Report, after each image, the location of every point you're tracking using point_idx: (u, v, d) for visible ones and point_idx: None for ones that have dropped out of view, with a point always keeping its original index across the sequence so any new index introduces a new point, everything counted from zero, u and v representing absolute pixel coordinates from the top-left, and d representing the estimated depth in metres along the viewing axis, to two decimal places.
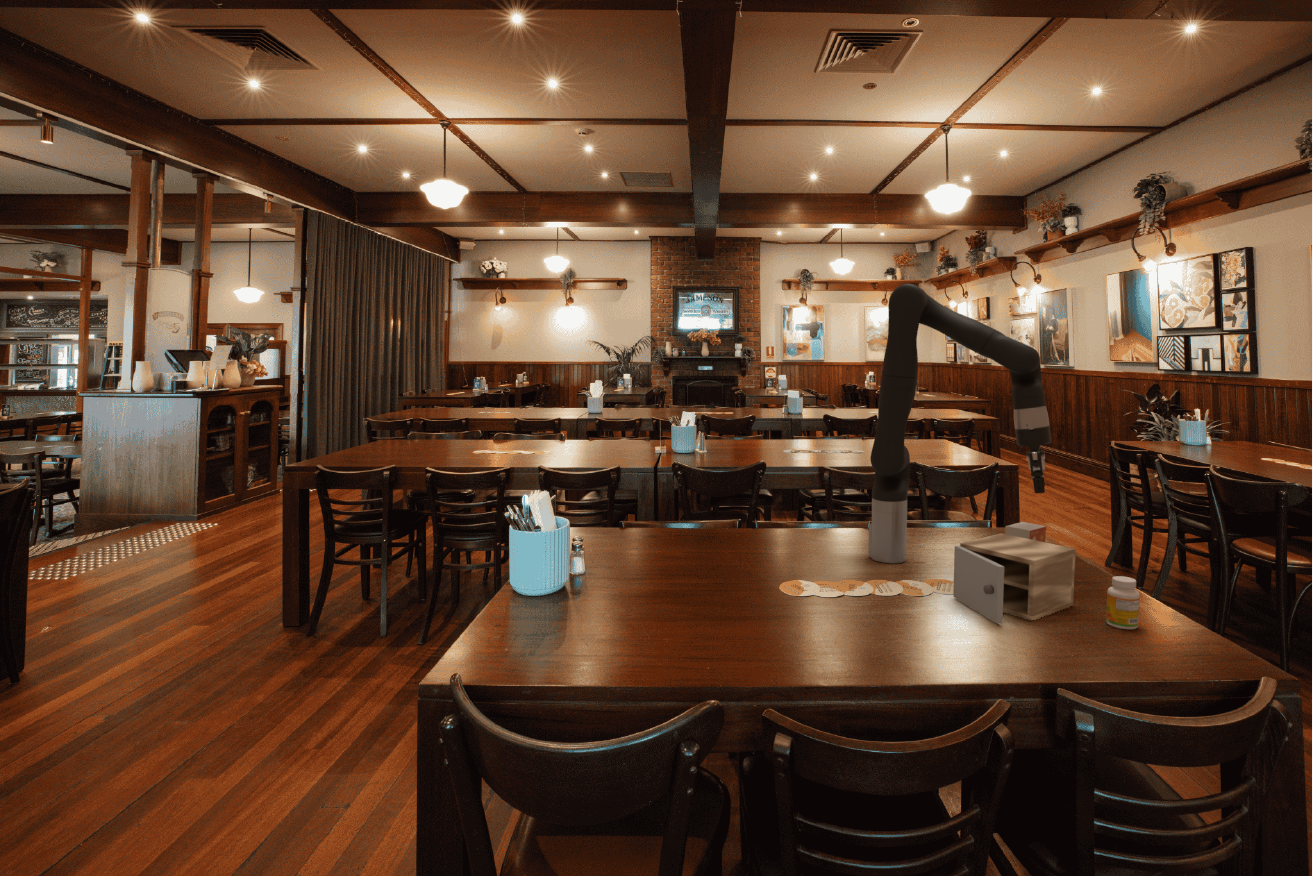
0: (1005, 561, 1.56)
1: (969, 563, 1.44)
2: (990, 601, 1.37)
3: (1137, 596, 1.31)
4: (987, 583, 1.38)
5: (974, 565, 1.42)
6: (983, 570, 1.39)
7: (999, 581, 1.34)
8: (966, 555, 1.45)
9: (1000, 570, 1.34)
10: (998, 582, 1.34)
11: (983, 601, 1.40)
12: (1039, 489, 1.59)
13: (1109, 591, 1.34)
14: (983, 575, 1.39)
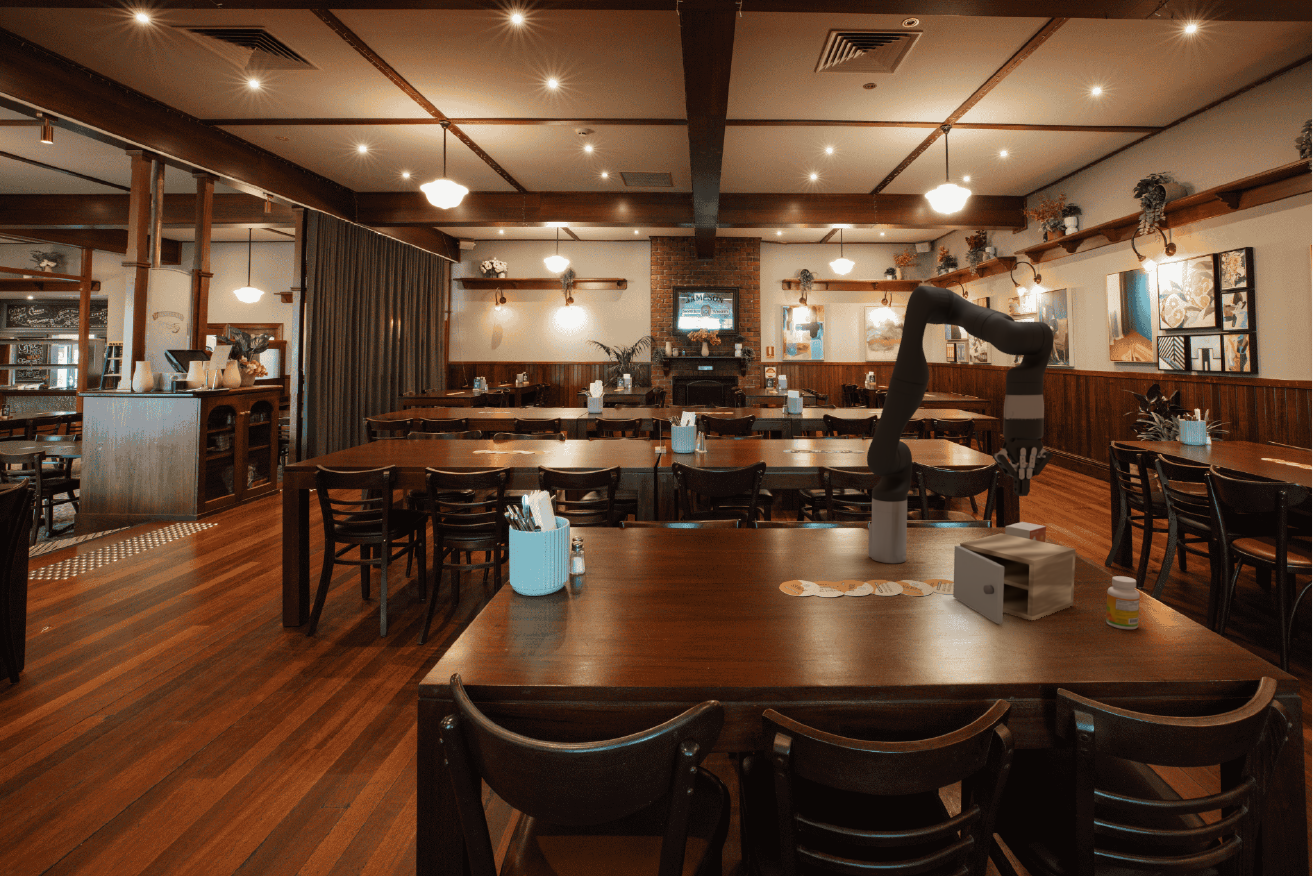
0: (1005, 561, 1.56)
1: (969, 563, 1.44)
2: (990, 601, 1.37)
3: (1137, 596, 1.31)
4: (987, 583, 1.38)
5: (974, 565, 1.42)
6: (983, 570, 1.39)
7: (999, 581, 1.34)
8: (966, 555, 1.45)
9: (1000, 570, 1.34)
10: (998, 582, 1.34)
11: (983, 601, 1.40)
12: (1016, 491, 1.42)
13: (1109, 591, 1.34)
14: (983, 575, 1.39)
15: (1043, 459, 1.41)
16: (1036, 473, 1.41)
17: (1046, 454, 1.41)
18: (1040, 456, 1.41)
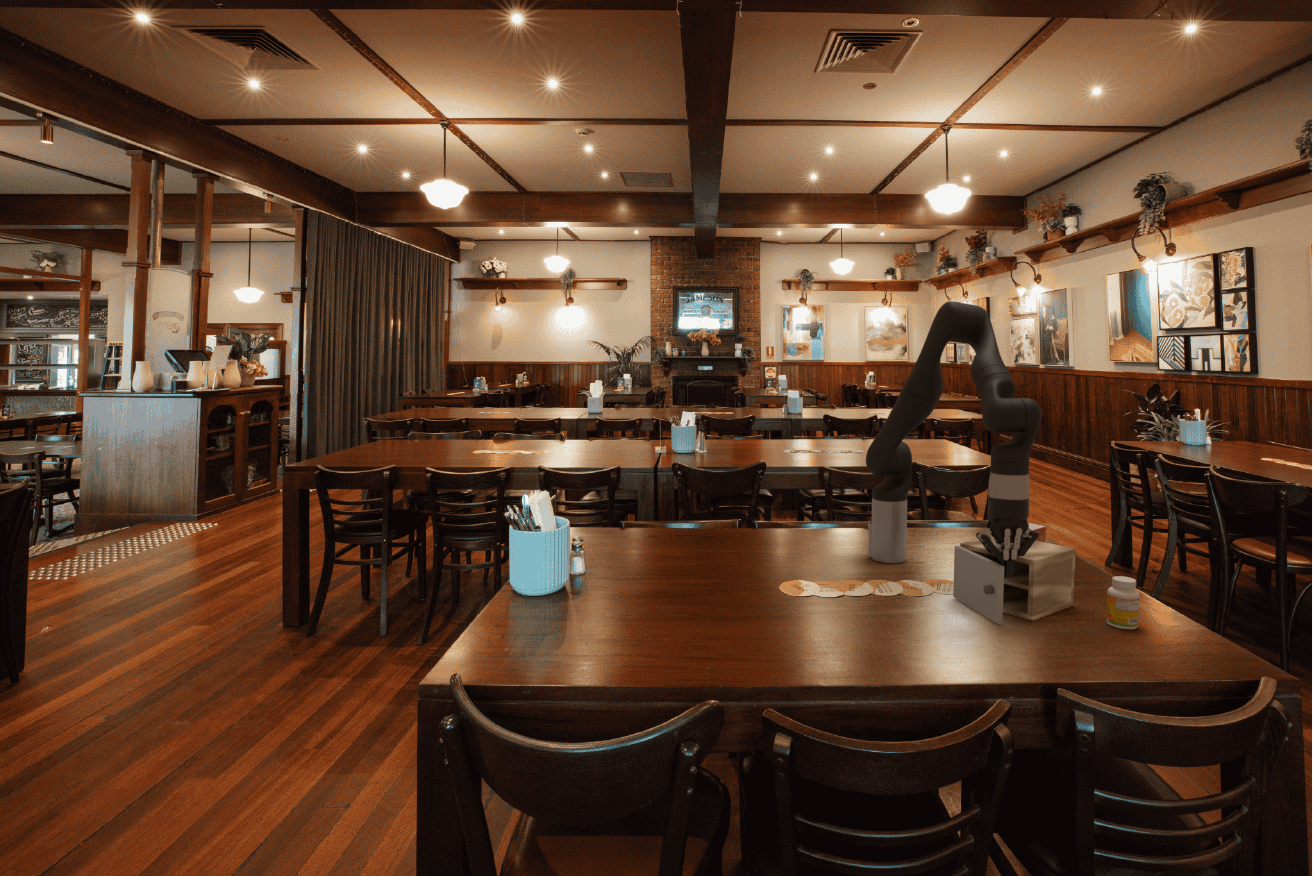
0: None
1: (969, 563, 1.44)
2: (990, 601, 1.37)
3: (1137, 596, 1.31)
4: (987, 583, 1.38)
5: (974, 565, 1.42)
6: (983, 570, 1.39)
7: (999, 581, 1.34)
8: (966, 555, 1.45)
9: (1000, 570, 1.34)
10: (998, 582, 1.34)
11: (983, 601, 1.40)
12: None
13: (1109, 591, 1.34)
14: (983, 575, 1.39)
15: (1029, 539, 1.36)
16: (1021, 554, 1.36)
17: (1032, 534, 1.36)
18: (1026, 536, 1.36)
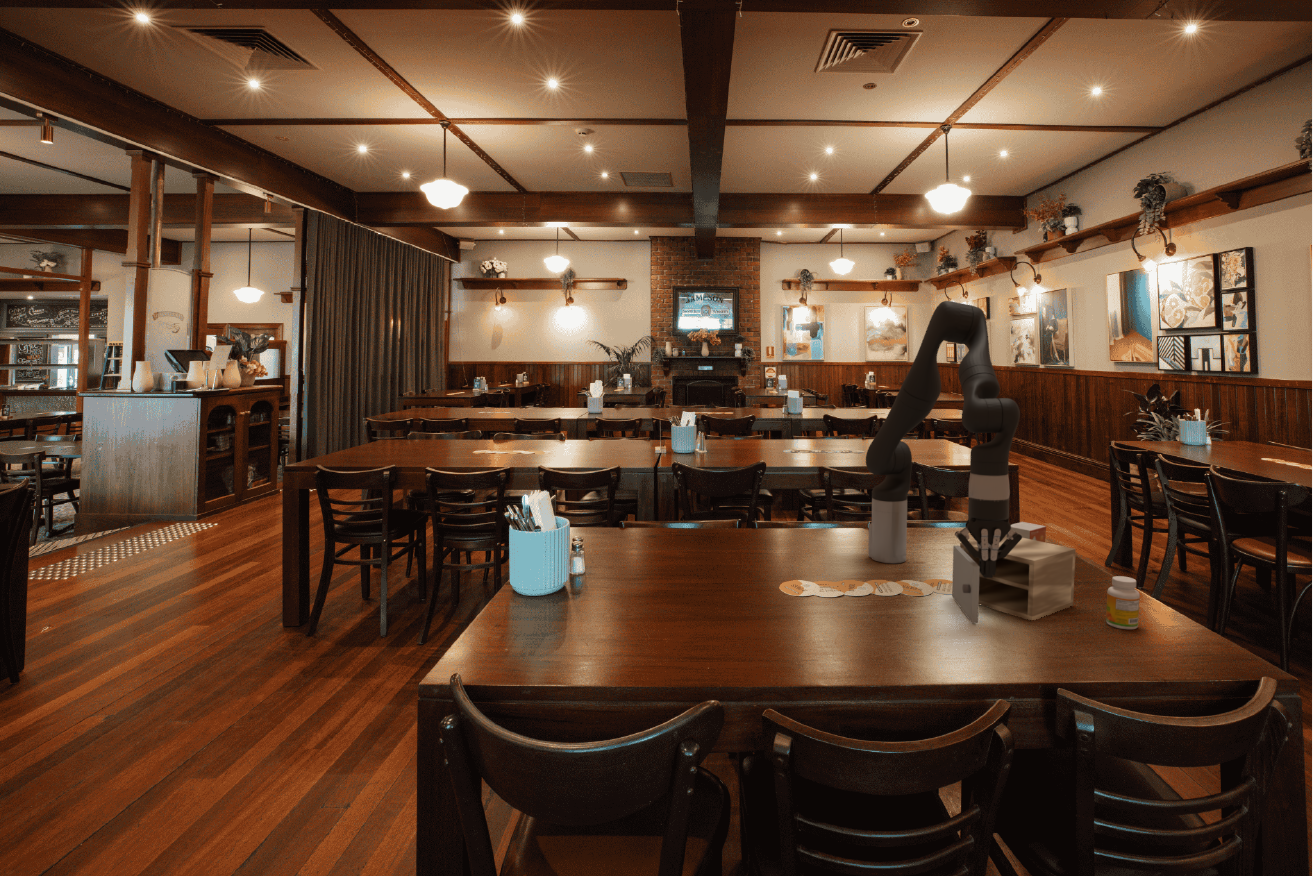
0: (1005, 561, 1.56)
1: (960, 562, 1.45)
2: (969, 600, 1.38)
3: (1137, 596, 1.31)
4: (967, 582, 1.39)
5: (962, 564, 1.43)
6: (966, 569, 1.40)
7: (974, 581, 1.35)
8: (958, 554, 1.46)
9: (975, 570, 1.35)
10: (973, 582, 1.35)
11: (965, 600, 1.40)
12: (980, 571, 1.37)
13: (1109, 591, 1.34)
14: (966, 574, 1.40)
15: (1011, 541, 1.34)
16: (1002, 555, 1.35)
17: (1015, 536, 1.34)
18: (1008, 537, 1.35)
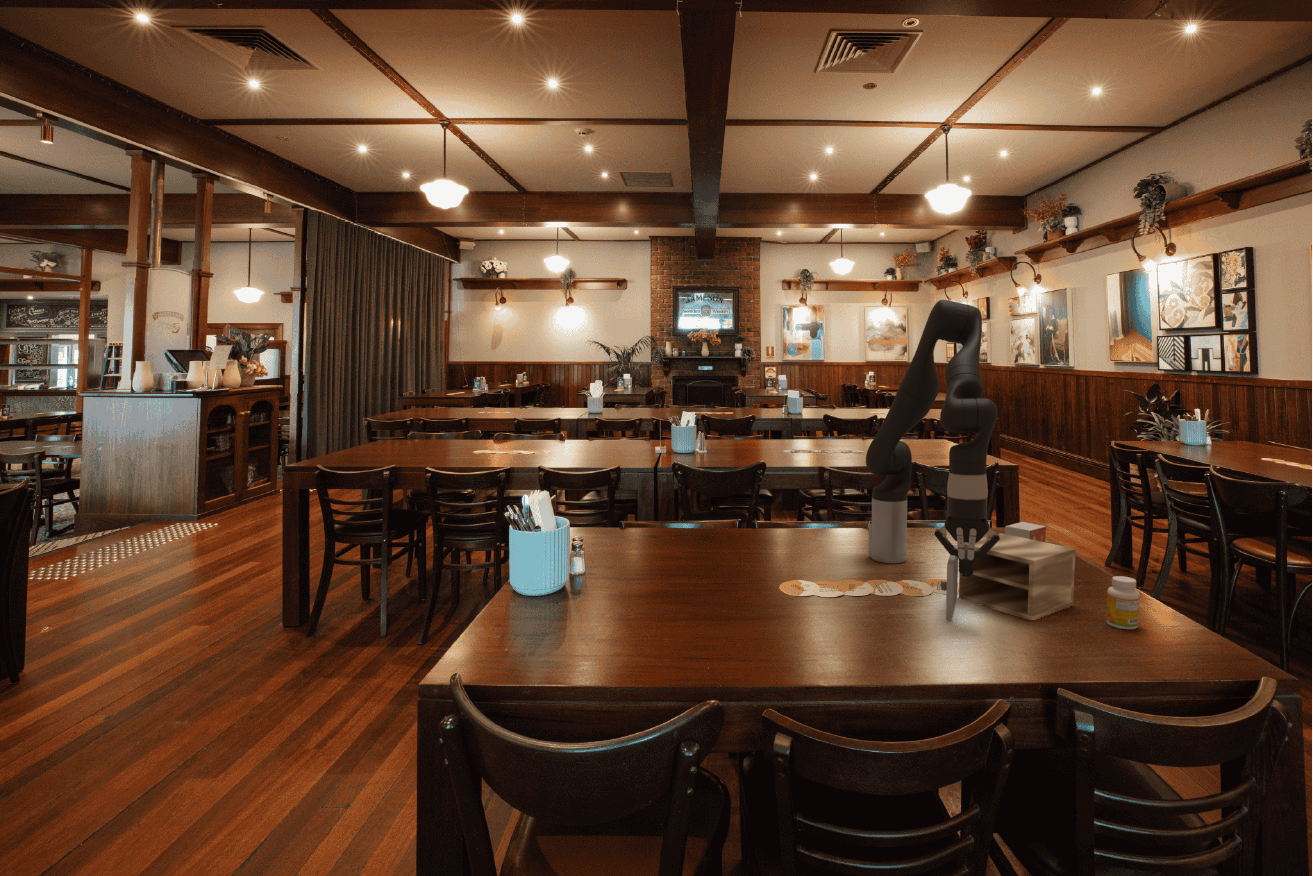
0: (1005, 561, 1.56)
1: None
2: None
3: (1137, 596, 1.31)
4: None
5: None
6: None
7: (948, 578, 1.37)
8: None
9: (949, 567, 1.36)
10: (947, 579, 1.37)
11: None
12: None
13: (1109, 591, 1.34)
14: None
15: (988, 542, 1.34)
16: (979, 555, 1.35)
17: (992, 537, 1.34)
18: (987, 538, 1.35)
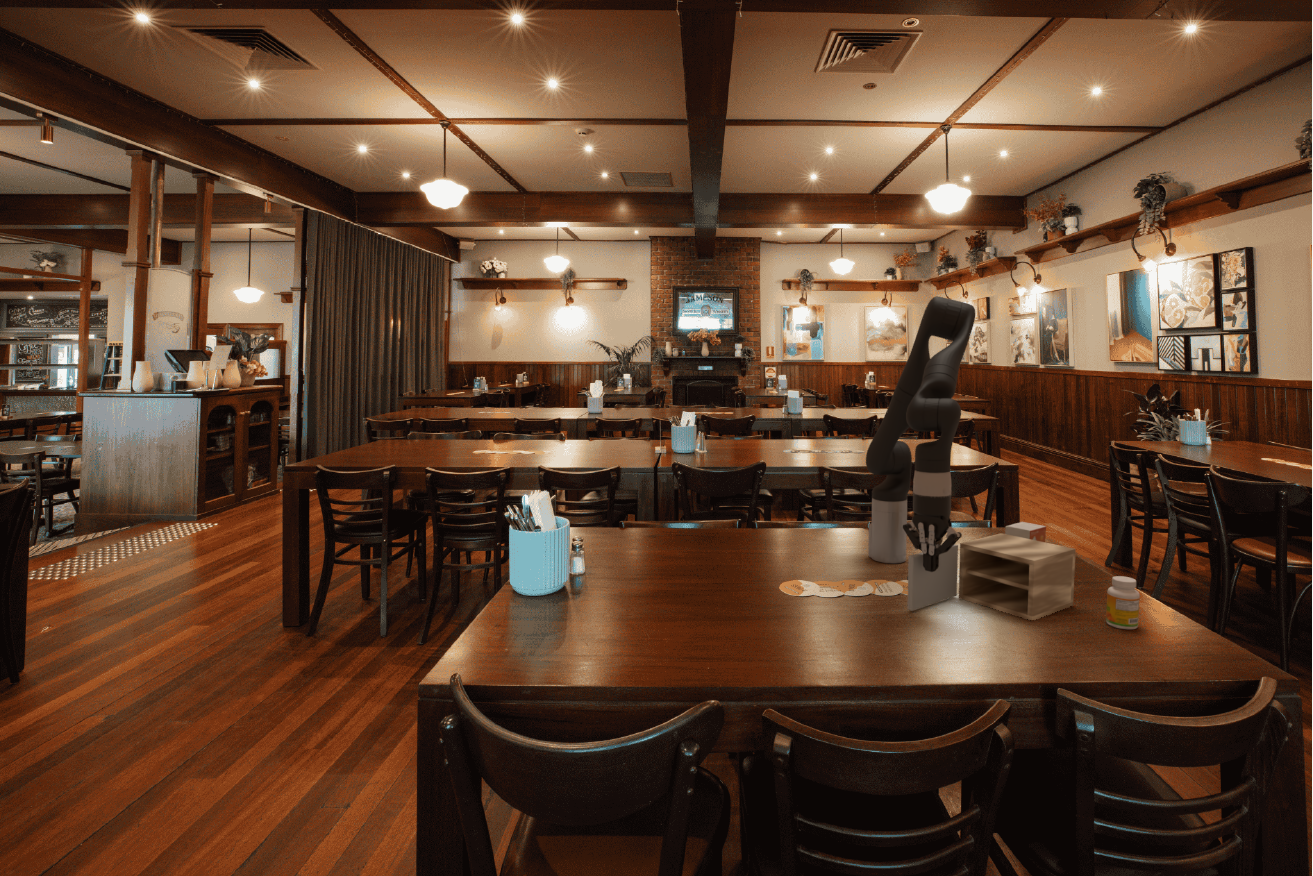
0: (1005, 561, 1.56)
1: None
2: None
3: (1137, 596, 1.31)
4: None
5: None
6: None
7: (909, 570, 1.43)
8: None
9: (910, 559, 1.43)
10: (908, 570, 1.43)
11: None
12: None
13: (1109, 591, 1.34)
14: None
15: (946, 539, 1.37)
16: (938, 551, 1.38)
17: (950, 535, 1.36)
18: None
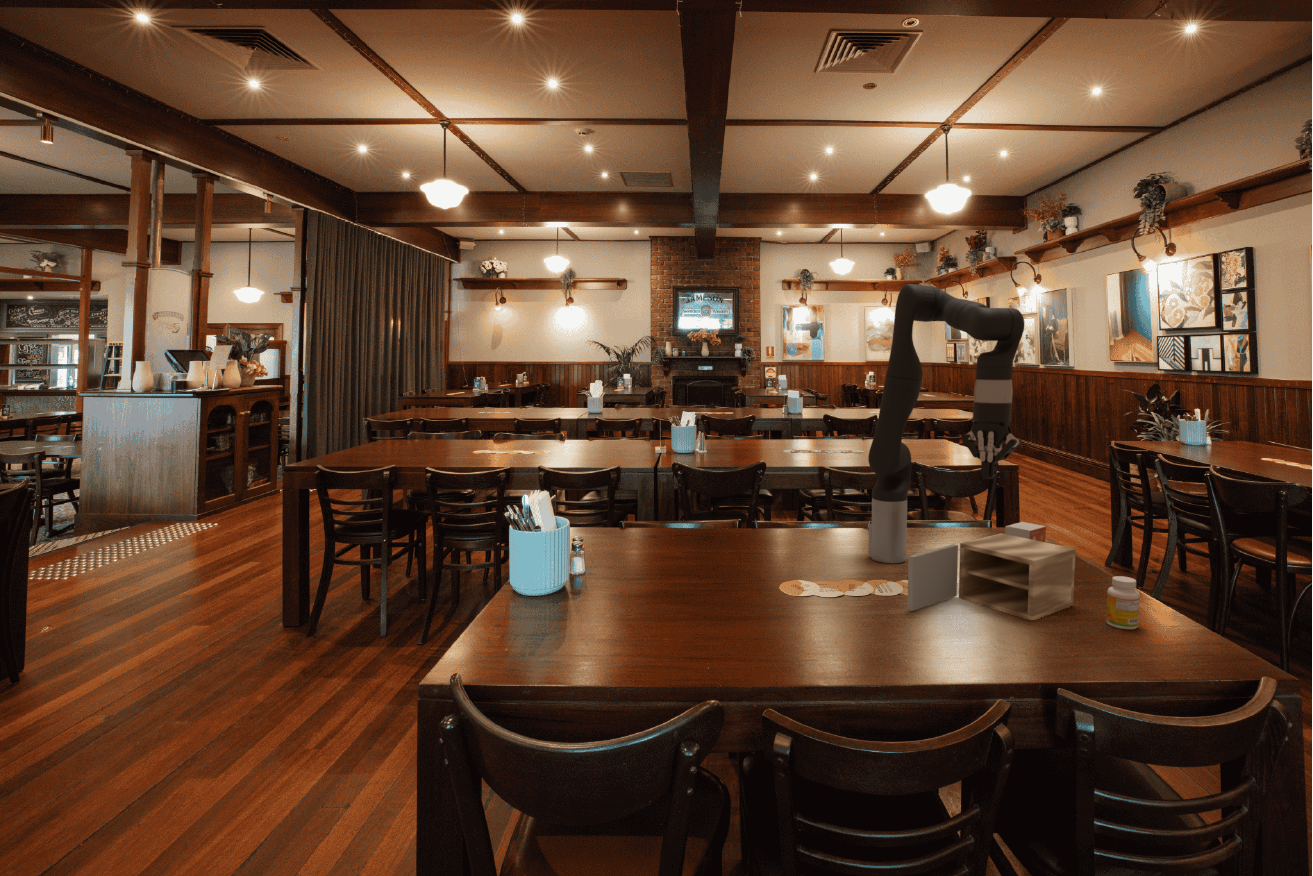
0: (1005, 561, 1.56)
1: None
2: None
3: (1137, 596, 1.31)
4: None
5: None
6: None
7: (909, 570, 1.43)
8: None
9: (910, 559, 1.43)
10: (908, 570, 1.43)
11: None
12: None
13: (1109, 591, 1.34)
14: None
15: (1005, 445, 1.41)
16: (997, 458, 1.42)
17: None
18: None
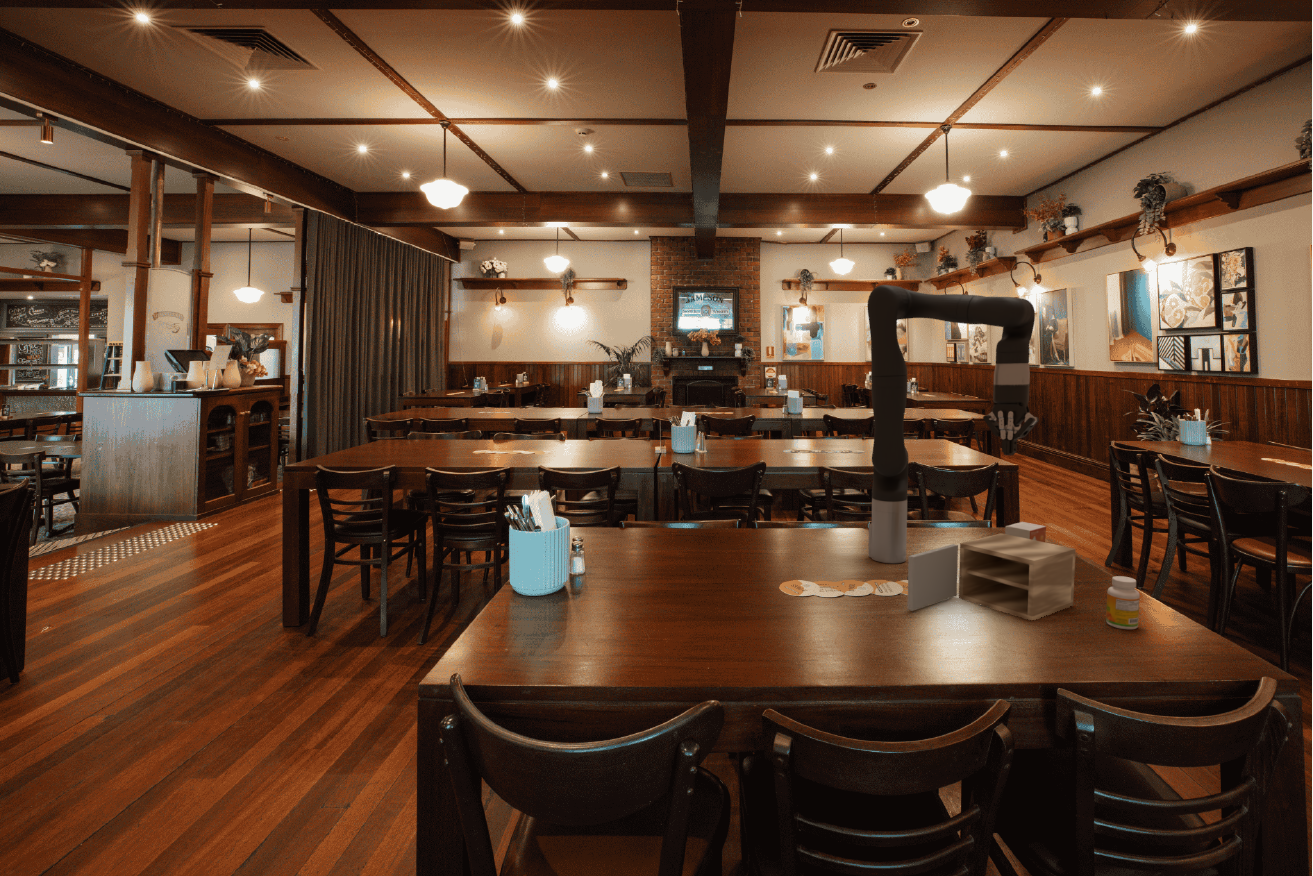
0: (1005, 561, 1.56)
1: None
2: None
3: (1137, 596, 1.31)
4: None
5: None
6: None
7: (909, 570, 1.43)
8: None
9: (910, 559, 1.43)
10: (908, 570, 1.43)
11: None
12: None
13: (1109, 591, 1.34)
14: None
15: (1024, 423, 1.53)
16: (1016, 435, 1.54)
17: None
18: None
